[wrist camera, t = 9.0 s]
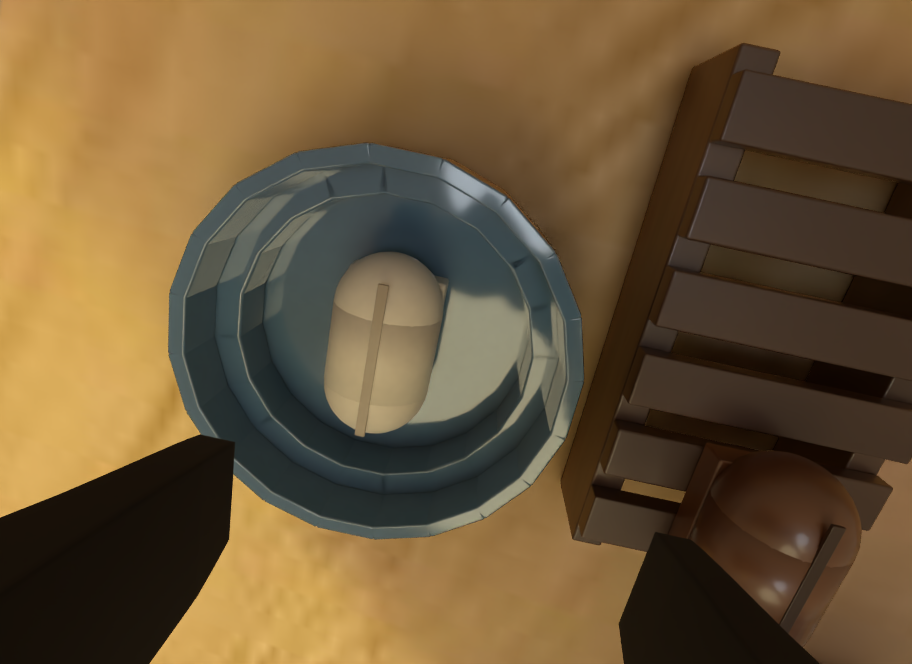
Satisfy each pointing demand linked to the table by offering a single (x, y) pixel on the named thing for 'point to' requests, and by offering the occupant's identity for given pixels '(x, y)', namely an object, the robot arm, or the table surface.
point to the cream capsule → (383, 341)
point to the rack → (755, 302)
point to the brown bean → (773, 529)
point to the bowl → (308, 326)
